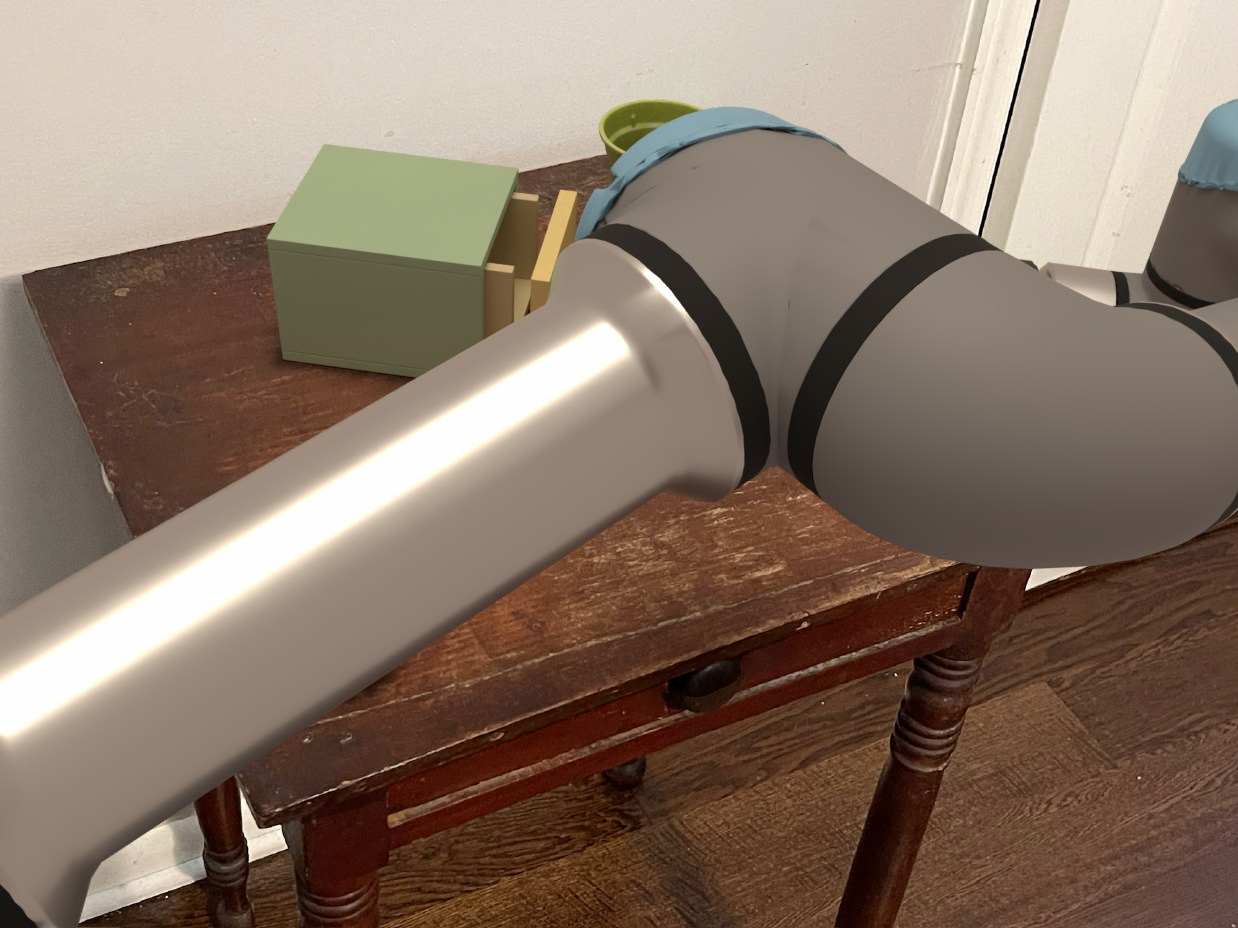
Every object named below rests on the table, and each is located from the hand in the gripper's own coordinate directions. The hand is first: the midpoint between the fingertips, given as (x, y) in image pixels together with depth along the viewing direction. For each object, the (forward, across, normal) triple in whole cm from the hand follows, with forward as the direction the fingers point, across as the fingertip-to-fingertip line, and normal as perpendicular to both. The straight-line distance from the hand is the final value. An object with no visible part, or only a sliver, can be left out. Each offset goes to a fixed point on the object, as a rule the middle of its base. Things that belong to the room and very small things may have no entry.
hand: (668, 273), depth 89 cm
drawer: (+11, 0, -6) cm, 13 cm away
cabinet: (+18, 0, -7) cm, 19 cm away
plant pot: (+2, +16, -7) cm, 17 cm away
